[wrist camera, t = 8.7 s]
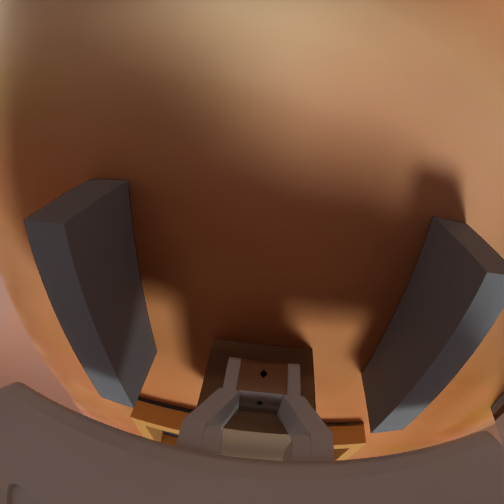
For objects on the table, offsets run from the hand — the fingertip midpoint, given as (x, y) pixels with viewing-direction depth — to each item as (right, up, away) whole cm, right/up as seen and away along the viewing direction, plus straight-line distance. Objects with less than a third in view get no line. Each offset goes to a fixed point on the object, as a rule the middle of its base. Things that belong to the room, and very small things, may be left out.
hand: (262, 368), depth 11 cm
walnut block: (0, -2, +4) cm, 4 cm away
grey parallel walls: (0, +3, +1) cm, 3 cm away
